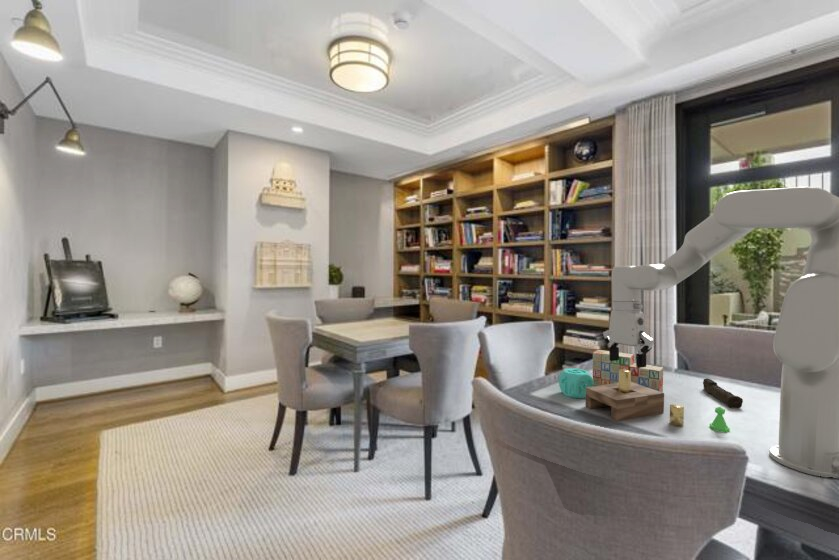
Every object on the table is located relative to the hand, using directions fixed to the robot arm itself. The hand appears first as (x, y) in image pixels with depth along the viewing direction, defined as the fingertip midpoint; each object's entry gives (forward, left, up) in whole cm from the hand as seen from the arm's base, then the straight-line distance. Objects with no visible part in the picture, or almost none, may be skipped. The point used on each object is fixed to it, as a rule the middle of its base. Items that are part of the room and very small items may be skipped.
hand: (627, 363), depth 116 cm
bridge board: (+1, 0, -14) cm, 14 cm away
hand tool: (-2, -37, -15) cm, 40 cm away
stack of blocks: (+15, -17, -15) cm, 27 cm away
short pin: (-12, -5, -14) cm, 19 cm away
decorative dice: (+17, +4, -15) cm, 23 cm away
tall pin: (+1, 0, -14) cm, 14 cm away
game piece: (-18, -13, -15) cm, 27 cm away
